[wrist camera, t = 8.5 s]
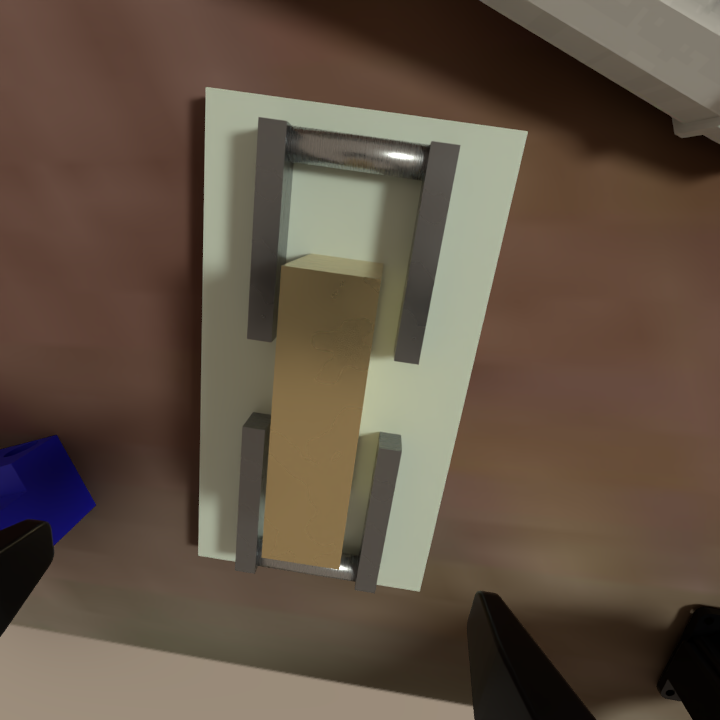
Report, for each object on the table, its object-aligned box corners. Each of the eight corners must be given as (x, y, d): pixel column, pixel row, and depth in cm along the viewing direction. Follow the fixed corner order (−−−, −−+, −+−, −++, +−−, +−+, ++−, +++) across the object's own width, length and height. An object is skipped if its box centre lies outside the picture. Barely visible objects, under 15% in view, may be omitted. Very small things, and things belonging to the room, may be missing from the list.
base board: (519, 136, 16) (527, 131, 15) (418, 576, 23) (419, 591, 22) (216, 94, 17) (205, 86, 16) (205, 541, 24) (198, 555, 23)
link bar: (383, 263, 17) (381, 279, 12) (351, 490, 21) (339, 569, 16) (311, 253, 17) (281, 265, 13) (290, 480, 21) (261, 557, 16)
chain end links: (454, 152, 16) (460, 145, 14) (375, 569, 22) (374, 593, 21) (270, 126, 16) (258, 116, 14) (244, 548, 22) (234, 570, 21)
